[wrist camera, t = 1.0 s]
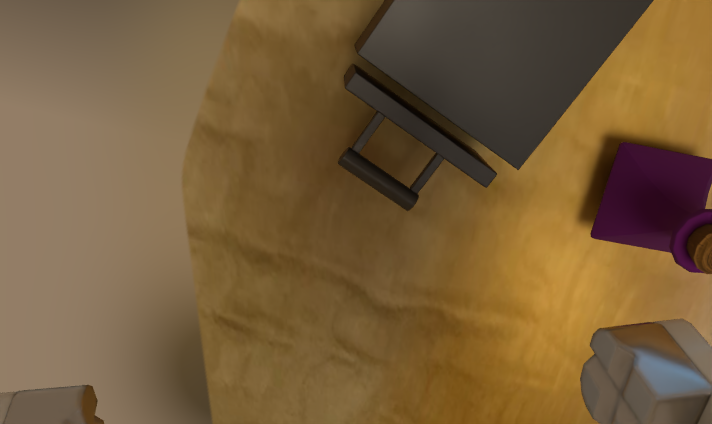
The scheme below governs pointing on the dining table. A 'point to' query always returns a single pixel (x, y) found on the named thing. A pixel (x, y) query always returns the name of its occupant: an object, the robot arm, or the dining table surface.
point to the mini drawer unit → (497, 60)
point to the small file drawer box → (415, 126)
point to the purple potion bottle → (659, 204)
